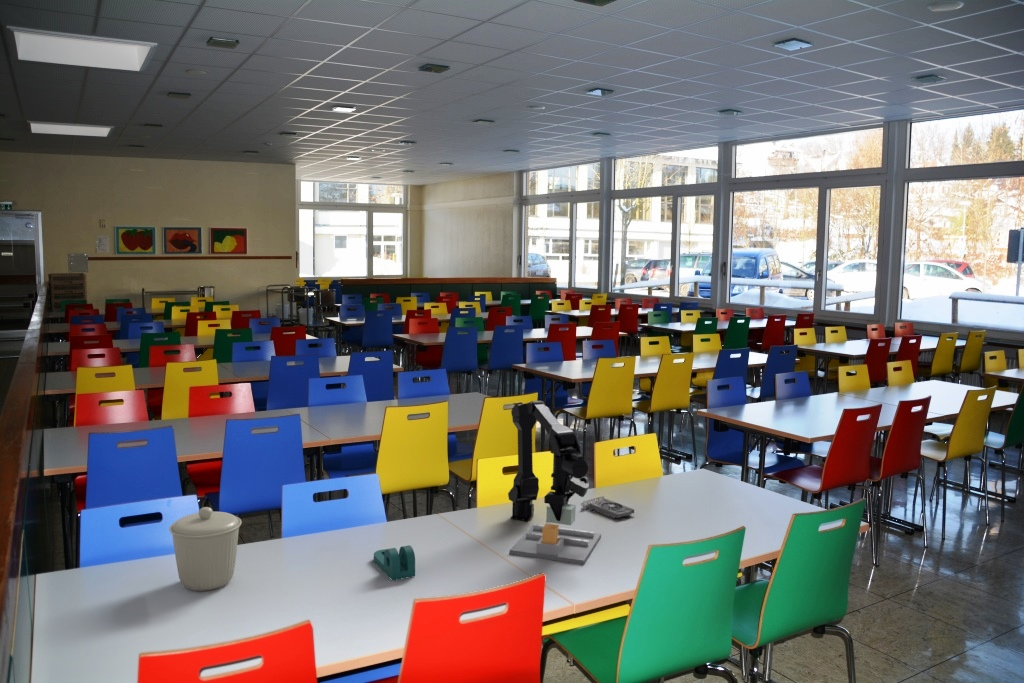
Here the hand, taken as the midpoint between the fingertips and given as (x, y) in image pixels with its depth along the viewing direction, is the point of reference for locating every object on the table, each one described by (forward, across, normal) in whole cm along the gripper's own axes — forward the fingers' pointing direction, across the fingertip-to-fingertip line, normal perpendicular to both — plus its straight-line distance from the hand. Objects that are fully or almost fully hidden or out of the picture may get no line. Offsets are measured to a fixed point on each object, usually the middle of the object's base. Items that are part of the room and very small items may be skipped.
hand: (560, 518), depth 252 cm
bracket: (+8, -38, +40) cm, 56 cm away
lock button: (+4, -12, 0) cm, 13 cm away
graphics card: (+8, +33, -9) cm, 35 cm away
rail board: (+8, -3, 0) cm, 8 cm away
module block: (+1, 0, 0) cm, 1 cm away
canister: (+8, -66, +81) cm, 105 cm away
